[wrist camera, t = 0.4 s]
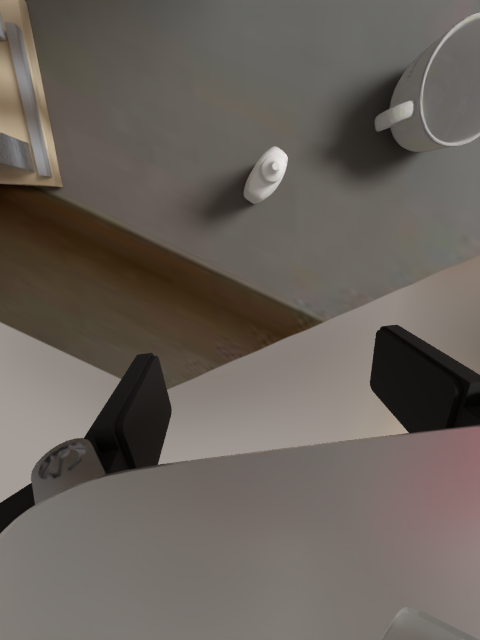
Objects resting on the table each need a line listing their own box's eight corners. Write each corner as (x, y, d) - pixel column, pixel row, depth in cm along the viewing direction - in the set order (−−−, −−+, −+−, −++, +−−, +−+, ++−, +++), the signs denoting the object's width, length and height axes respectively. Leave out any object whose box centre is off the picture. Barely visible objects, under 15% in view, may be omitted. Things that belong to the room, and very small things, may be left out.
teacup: (463, 53, 31) (538, 0, 24) (449, 153, 35) (509, 136, 28) (354, 72, 31) (395, 26, 24) (352, 170, 35) (387, 157, 28)
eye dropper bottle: (234, 177, 35) (239, 158, 24) (270, 155, 34) (293, 125, 23) (248, 207, 36) (260, 202, 25) (283, 187, 36) (310, 173, 24)
